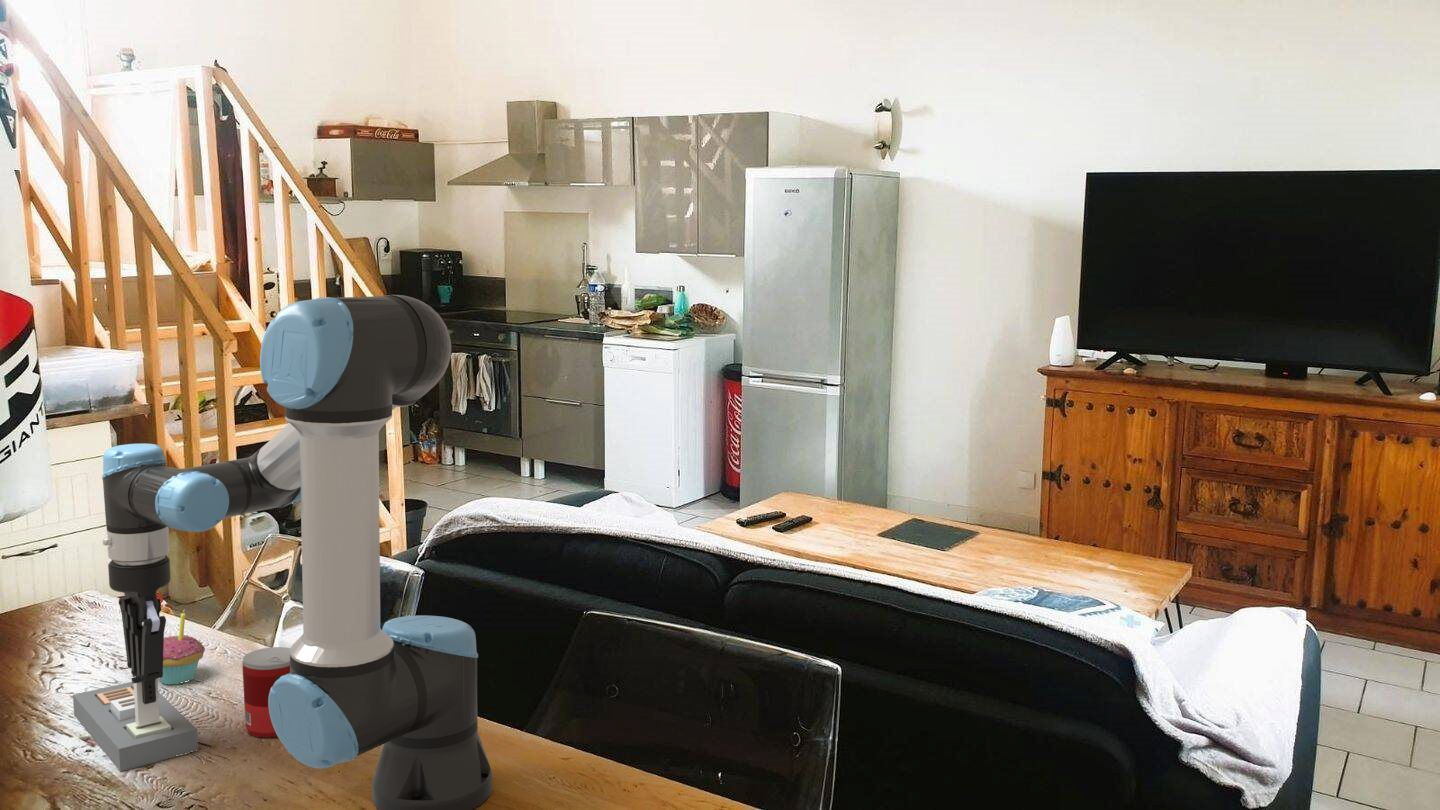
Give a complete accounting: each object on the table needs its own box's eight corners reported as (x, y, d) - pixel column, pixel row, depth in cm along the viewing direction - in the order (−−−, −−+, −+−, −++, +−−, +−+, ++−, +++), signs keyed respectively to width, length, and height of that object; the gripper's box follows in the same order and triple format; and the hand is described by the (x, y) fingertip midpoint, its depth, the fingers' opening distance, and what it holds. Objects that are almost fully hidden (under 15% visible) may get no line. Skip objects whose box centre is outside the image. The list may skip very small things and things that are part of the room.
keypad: (198, 750, 164) (197, 729, 163) (120, 771, 157) (118, 749, 156) (146, 698, 181) (144, 678, 181) (74, 715, 175) (72, 694, 174)
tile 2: (155, 717, 169) (154, 701, 168) (120, 726, 166) (119, 710, 165) (145, 707, 172) (144, 692, 172) (111, 715, 169) (110, 700, 169)
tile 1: (172, 741, 163) (171, 725, 163) (136, 750, 160) (135, 734, 160) (161, 730, 167) (160, 714, 166) (126, 739, 164) (125, 723, 163)
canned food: (284, 741, 167) (281, 667, 165) (233, 735, 169) (230, 662, 167) (313, 720, 174) (310, 649, 173) (264, 714, 176) (261, 644, 174)
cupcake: (216, 672, 192) (213, 601, 191) (184, 692, 184) (180, 618, 182) (169, 668, 194) (165, 598, 192) (135, 687, 185) (130, 614, 184)
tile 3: (140, 709, 174) (139, 694, 174) (106, 718, 171) (105, 702, 171) (130, 700, 178) (130, 685, 177) (97, 708, 175) (96, 693, 174)
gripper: (95, 551, 162) (105, 714, 165) (122, 573, 152) (132, 745, 156) (153, 543, 167) (161, 701, 170) (183, 563, 157) (191, 730, 161)
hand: (147, 722), depth 163 cm, fingers closed
